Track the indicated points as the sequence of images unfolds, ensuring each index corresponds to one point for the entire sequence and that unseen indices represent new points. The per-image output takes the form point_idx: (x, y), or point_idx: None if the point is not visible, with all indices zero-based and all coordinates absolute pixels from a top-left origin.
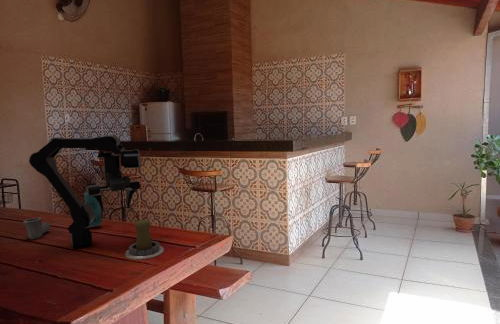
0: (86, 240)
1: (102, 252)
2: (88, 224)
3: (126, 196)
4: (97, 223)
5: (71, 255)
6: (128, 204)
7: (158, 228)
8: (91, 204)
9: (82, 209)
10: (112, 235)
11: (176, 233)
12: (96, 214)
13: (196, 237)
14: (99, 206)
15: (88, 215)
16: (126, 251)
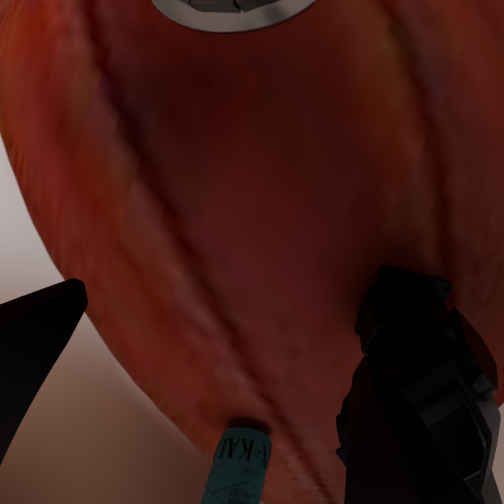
0: (404, 295)
1: (400, 122)
2: (435, 334)
3: (20, 405)
4: (241, 433)
5: (494, 216)
6: (48, 295)
7: (62, 255)
8: (241, 502)
9: (485, 439)
10: (236, 329)
11: (31, 136)
12: (235, 462)
13: (15, 41)
14: (212, 484)
15: (450, 386)
16: (311, 2)
